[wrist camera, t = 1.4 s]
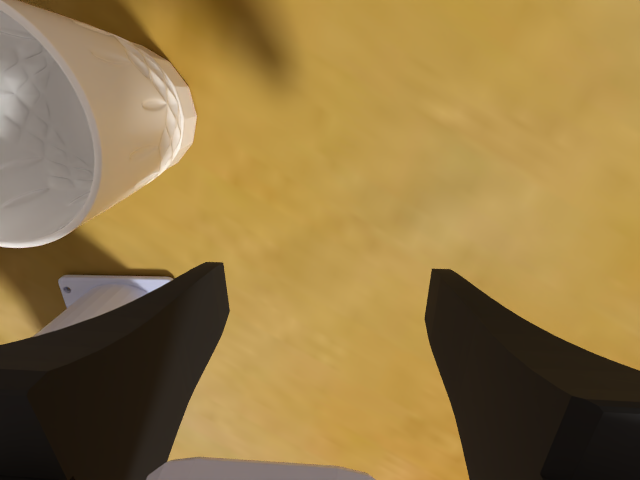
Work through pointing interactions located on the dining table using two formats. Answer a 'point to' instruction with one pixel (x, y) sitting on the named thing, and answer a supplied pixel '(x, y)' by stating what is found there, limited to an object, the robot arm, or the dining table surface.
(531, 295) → the dining table surface
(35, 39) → the white cup
